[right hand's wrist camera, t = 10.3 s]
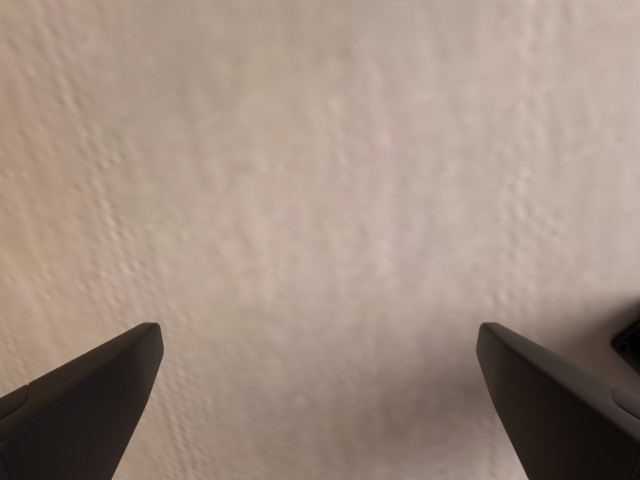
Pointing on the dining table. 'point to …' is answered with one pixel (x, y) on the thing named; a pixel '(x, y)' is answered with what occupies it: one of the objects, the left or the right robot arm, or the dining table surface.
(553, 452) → the right robot arm
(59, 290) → the dining table surface
